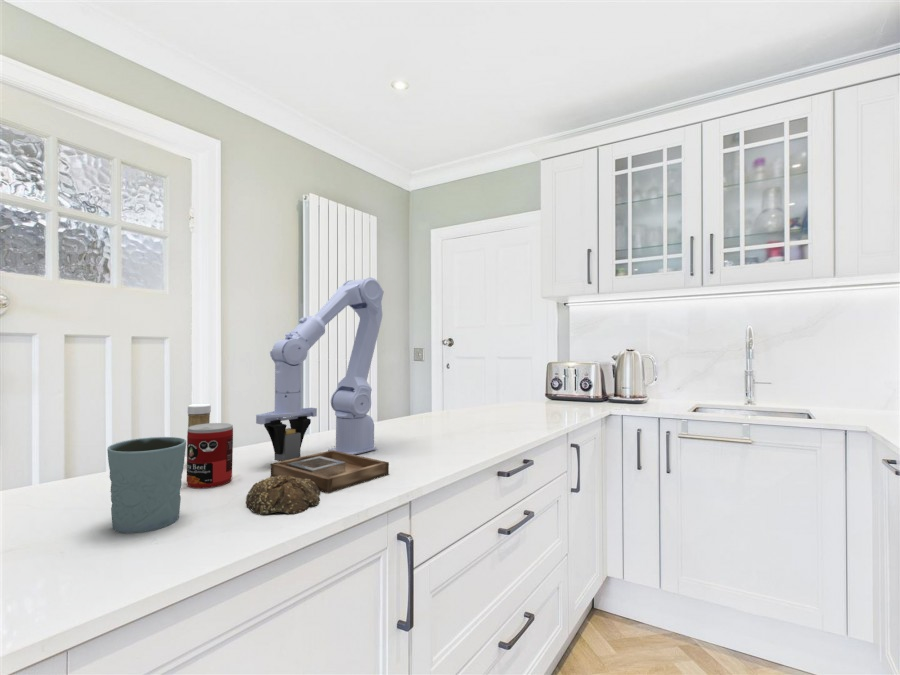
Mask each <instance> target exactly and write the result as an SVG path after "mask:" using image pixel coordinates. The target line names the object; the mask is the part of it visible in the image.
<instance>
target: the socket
mask: <svg viewBox="0 0 900 675" xmlns="http://www.w3.org/2000/svg"><path fill="white" fill-rule="evenodd" d="M287 466H289V467H293V468H296V469H300V470H304V471H308V472H311V473H315V474H319V475H322V476H326V477H328V476H332V475H336V474H339V473H343V472H346V462H343V461H339V460H334V459H330V458H326V457H322V456H318V457H314V458H309V459H305V460H300V461H296V462H292V463H287Z"/></svg>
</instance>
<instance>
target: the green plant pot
mask: <svg viewBox="0 0 900 675" xmlns="http://www.w3.org/2000/svg"><path fill="white" fill-rule="evenodd" d="M186 450H187V440H186V439H185V438H181V437H176V436H175V437H173V436H153V437H152V436H151V437H142V438H141V437H140V438H133V439H127V440H122V441H119V442H116V443H113V444H111V445H109V446H108V447H107V450H106V451H107V460H108V461H107V462H108V467H109V479H110V491H109V492H110V501H111V508H110V510H111V511H110V512H111V514H110V515H111V527H112V529H113V531H115V532H118V533H121V534H137V533H147V532H151V531H155V530H159V529H162V528H163V529H164V528H166V527H167V526H168V527H169V526H170V525H172V524H174V523H176V522H178V520H179V517H180V512H181V508H180V507H181V499H182V498H181V489H182V488H181V487H182V485H183V484H182V477H183V476H182V475H183V473H184V472H183V471H184V466H185V459H186V458H185V456H186Z"/></svg>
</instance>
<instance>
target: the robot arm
mask: <svg viewBox="0 0 900 675" xmlns="http://www.w3.org/2000/svg"><path fill="white" fill-rule="evenodd" d="M383 296H384V290H383V288H382V286H381V284H380V282H379V281H378V280H377V279H375V278H373V277H366V278H362V279H355V280H353V279H351V280H346V281H345V282H344V283H343V284H342V285H341V286H339V287H337V290H336V291H335V293H334V294H333V295H332V296H331V297H330V298H329V299H328V300H327V302H326V303H325V304H324V305H323V306H322V307H321V308H320V309H319V310H318V312H316V314H315V315H313V316H312V315H307V316H306V317H303V316H302V317H300V319H299V320H298V322H299V323H298V324H297V325H296V326H295V327H294V328H293V329H291V331H290V332H289V331H288V332H286V333H285V339H280V340H277V341H276V342H275V343H274V344H273V345H272V349H271V350H270V351H269V354H270V358H271V360H272V361H273V363H274V411H270V412H264V413H260V414H256V415H255V416H256V417H255V423H256V424H258V425H263V426H264V428H265V430H266V432H267V433H268V435H269V438H270V440H271V444H272V446H273V451H274V455H275V454H279V455H281V454H283V441H284V433H285V429H287V425H288V424H285V423H283V421H288V422H289V426H290V427H289V428H291V429H296V430H295V432H300V433H301V445H300V449H302V448H301V447H302V444H303V440H304V439H305V438H304V437H305V435H306V432H307V430H308V428H309V426H310V424H311V421H312V419H311V418H312V417H313V418H315V417H318V413H317V412H318V408H317V407H316V408H315V407H304V408H302V374H303V373H302V363H303V362H304V361H305V360H306V359H307V357H308V351H309V350H310V349H311V348H312V347H313V346H314V345H315V344H316V343H317V342H318V341H319V340H320V339H321V338H322V337H323V336H324V335H325V333H326V326H327V325H328V324H329V323H330V322H331V321H332V320H333V319H334V318H335V317H336V316H338V314H340V313H341V312H342V311H343V310H344V309H345V308H346V307H350V308H351V309H352V310H353V311H354V312H355V313H356V314H357V315H358V317H359V322H358V326H357V330H356V332H355V333H356V335H355V336H354V337H355V338H354V343H353V346H352V350H351V354H350V357H349V362H348V365H347V369H346V373H345V375H344V377H343V378H342V379H341V380H339V382H338V383H337V387H336V388H335V390H334V392H333V393H332V394H331V398H330V406H331V409H332V410H333V411H334V415H335V448H329V449H328V450H327V451H331V450H334V451H339V452H343V453H348V454H353V455H359V454H363V453H367V452H371V451H375V450H377V447H375V422H374V420H373V417H372V416H370V415H368V413H369V412H370V410H371V407H372V396H371V394H372V387H371V386H370V384H369V382H368V381H367V380H368V378H369V373H370V369H371V366H372V361H373V357H374V352H375V348H376V344H377V340H378V335H379V333H380V328H381V324H382V319H383V305H382V300H383ZM310 417H311V418H310Z"/></svg>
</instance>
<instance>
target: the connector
mask: <svg viewBox="0 0 900 675" xmlns="http://www.w3.org/2000/svg"><path fill="white" fill-rule="evenodd" d="M295 430H296V429H291V427H286V429H285V433H284V441H283V454H281V455H279V454H275V453H274V457H273V458H274V461H277V462H281V461H285V460H290V459H294V458H299V457H301V448H300V445H301V446H302V444H301V433H300V432H295Z"/></svg>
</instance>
